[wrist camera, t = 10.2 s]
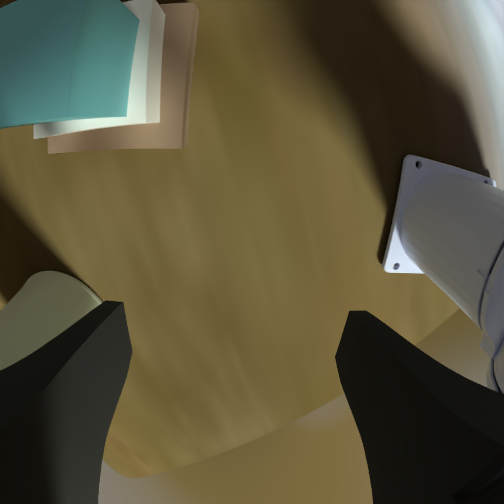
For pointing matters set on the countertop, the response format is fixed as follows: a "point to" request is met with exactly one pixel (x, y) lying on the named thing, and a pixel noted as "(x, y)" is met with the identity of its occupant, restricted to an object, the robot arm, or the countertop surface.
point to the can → (42, 313)
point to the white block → (141, 82)
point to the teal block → (65, 60)
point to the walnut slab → (171, 95)
